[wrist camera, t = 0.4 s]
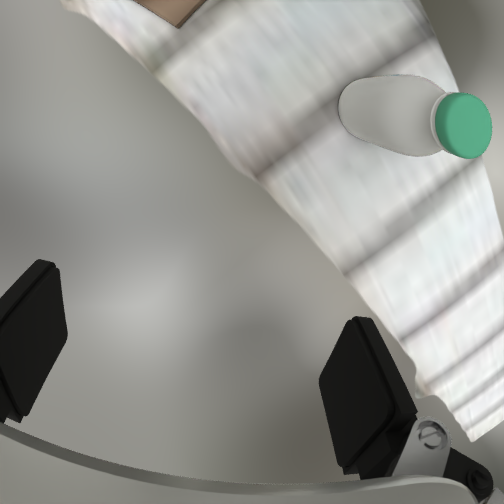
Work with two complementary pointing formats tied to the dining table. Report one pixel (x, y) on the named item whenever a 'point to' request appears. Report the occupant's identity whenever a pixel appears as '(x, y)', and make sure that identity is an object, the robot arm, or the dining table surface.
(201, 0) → the board
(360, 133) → the milk bottle
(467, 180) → the dining table surface
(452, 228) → the dining table surface
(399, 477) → the robot arm
